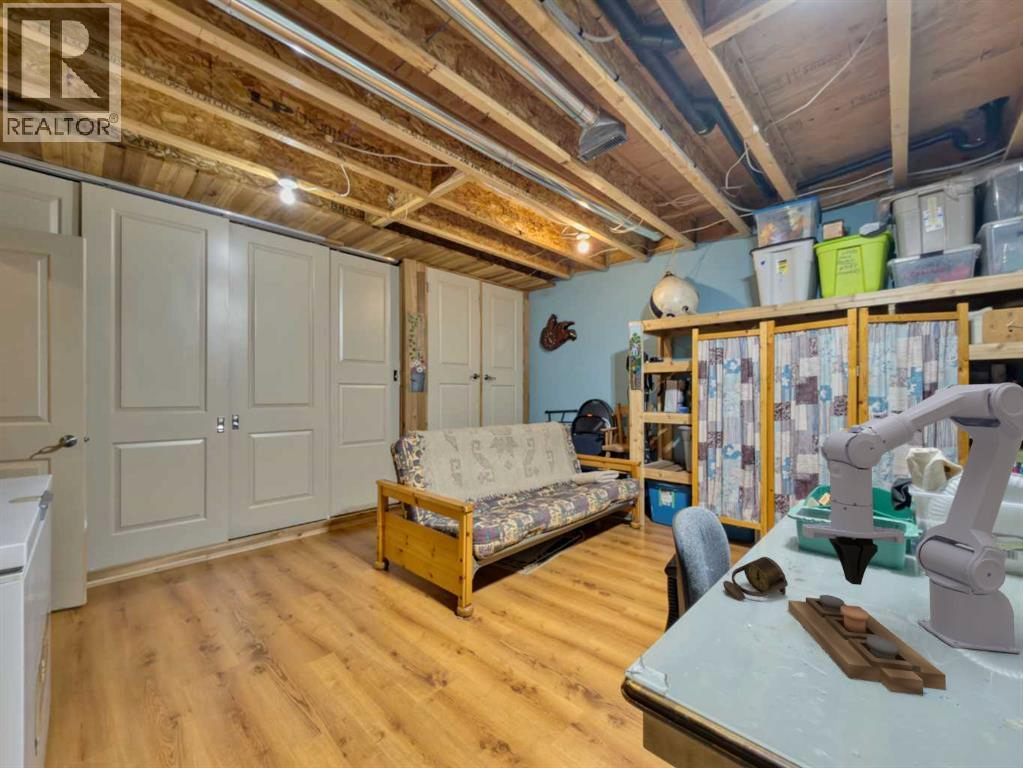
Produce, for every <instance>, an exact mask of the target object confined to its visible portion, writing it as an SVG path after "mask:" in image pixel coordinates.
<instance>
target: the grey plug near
mask: <svg viewBox="0 0 1023 768" xmlns="http://www.w3.org/2000/svg"><path fill="white" fill-rule="evenodd" d="M867 646H868V647H869V648H870V653H871V654H872V655H873V656H874V657H875V658H882V659H891V660H895V655H898V646H897V645H896V644H895V643H893V642H892V641H890V640H887V639H884V638H881V637H876V636H869V637H867Z"/></svg>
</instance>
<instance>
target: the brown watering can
mask: <svg viewBox="0 0 1023 768" xmlns="http://www.w3.org/2000/svg"><path fill="white" fill-rule="evenodd" d="M741 572H744V574H745V577H746V580H747V581H748V583H749V584H750V585H749V586H751V587H752V588H753V589H754V590H755V591H753V590H749V589H747V588H744V587H742V586H741V585H740V584H738V583H737V582H736V579H735V577H736V575H737V574H738V573H739V574H740V573H741ZM722 583H723V584H722V585H723V587H724V591H725V592H726V593H727V594H728V595H729V596H730V597H732V598H733V597H734V599H736V600H740V601H742V600H745V599H746V596H745V595H747V596H749V597H755V598H756V597H757V598H758V597H759V598H760V597H761V598H763V597H766V596H770V595H773V594H774V593H776V592H780V593H781V594H783V595H786V593H787V591H786V590H787V589H786V587H788V585H789V583H788V581H787V578H786V574H785V573H784V571H783V569H782V567H780V565H779V564H778V563H777V562H776V561H775V560H774V559H772V558H771V557H768V556H761V557H759V558H757V559H755V560H752V561H750V562H748V563H746V564H744V565H742V566H739V567H738V568H735V569H734V570H733V571H732V574H731V581H729V580H724V581H723V582H722Z"/></svg>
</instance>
